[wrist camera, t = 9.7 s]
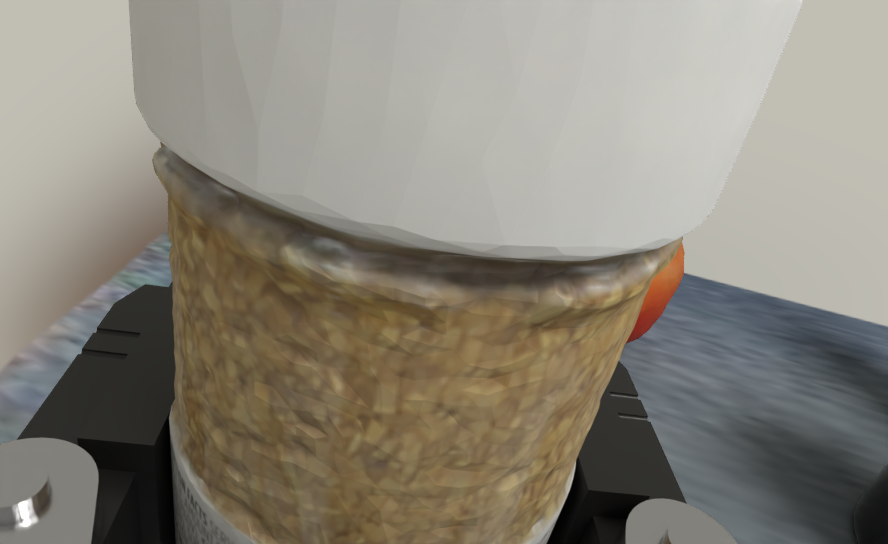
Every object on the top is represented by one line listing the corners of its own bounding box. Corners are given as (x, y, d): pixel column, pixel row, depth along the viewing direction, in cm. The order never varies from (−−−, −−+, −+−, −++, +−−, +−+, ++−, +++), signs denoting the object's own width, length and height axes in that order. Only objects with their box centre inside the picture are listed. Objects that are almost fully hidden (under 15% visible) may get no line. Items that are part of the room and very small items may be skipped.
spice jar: (340, 575, 14) (465, -127, 7) (493, 755, 11) (908, -42, 5) (129, 733, 11) (-14, -261, 4) (280, 1026, 8) (590, -206, 2)
